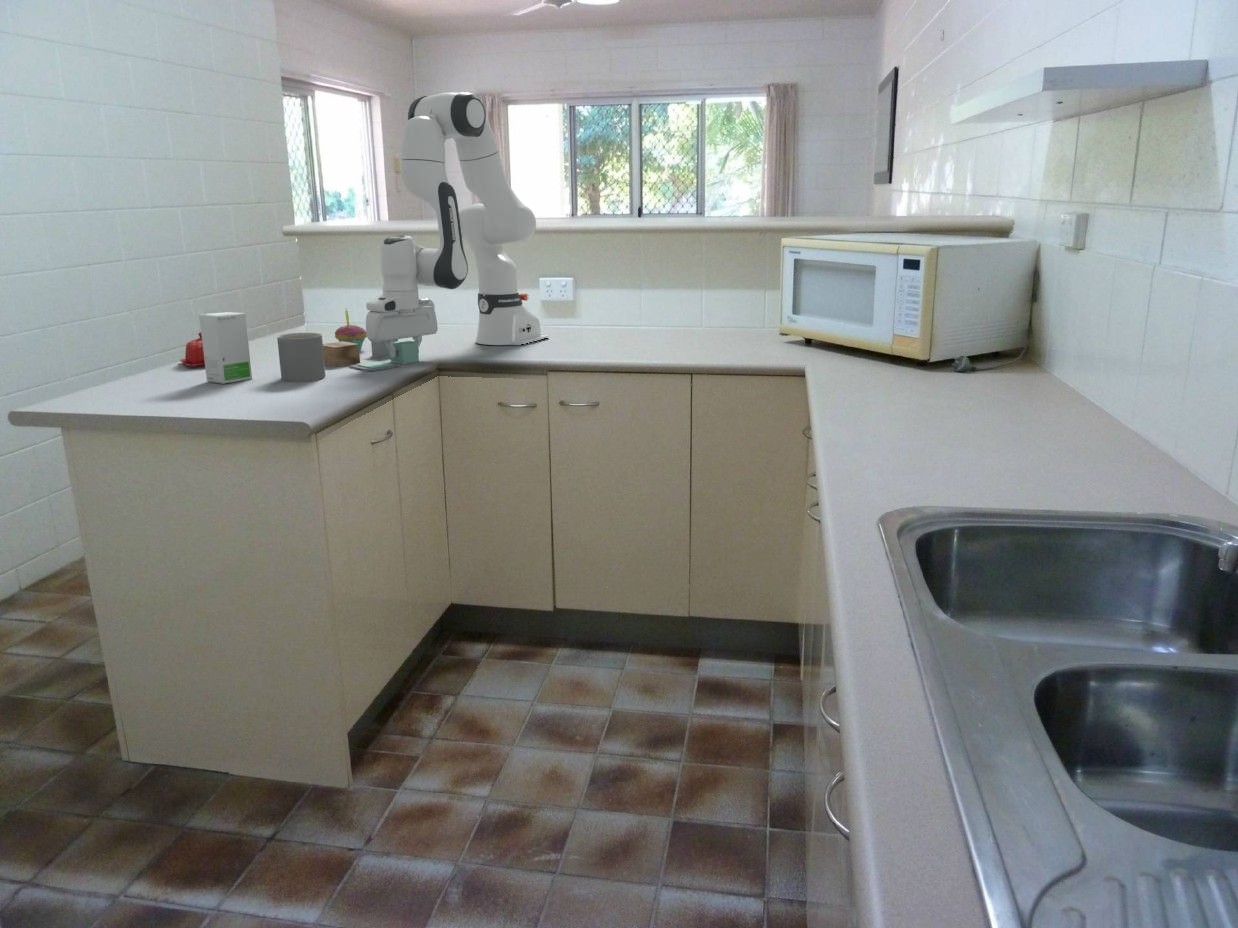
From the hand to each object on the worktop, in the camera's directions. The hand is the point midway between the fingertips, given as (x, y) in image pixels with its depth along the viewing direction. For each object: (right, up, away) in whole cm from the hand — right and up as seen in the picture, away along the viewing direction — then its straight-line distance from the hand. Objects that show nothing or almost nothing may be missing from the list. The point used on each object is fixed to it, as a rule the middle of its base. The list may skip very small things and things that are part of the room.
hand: (404, 355), depth 242 cm
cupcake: (-19, +3, +17) cm, 25 cm away
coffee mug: (-20, -7, -19) cm, 28 cm away
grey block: (-7, +1, +9) cm, 11 cm away
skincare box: (-36, -9, -23) cm, 43 cm away
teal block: (0, -2, 0) cm, 2 cm away
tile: (-6, -4, -8) cm, 10 cm away
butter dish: (-50, -3, -3) cm, 50 cm away
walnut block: (-16, -2, -1) cm, 16 cm away
